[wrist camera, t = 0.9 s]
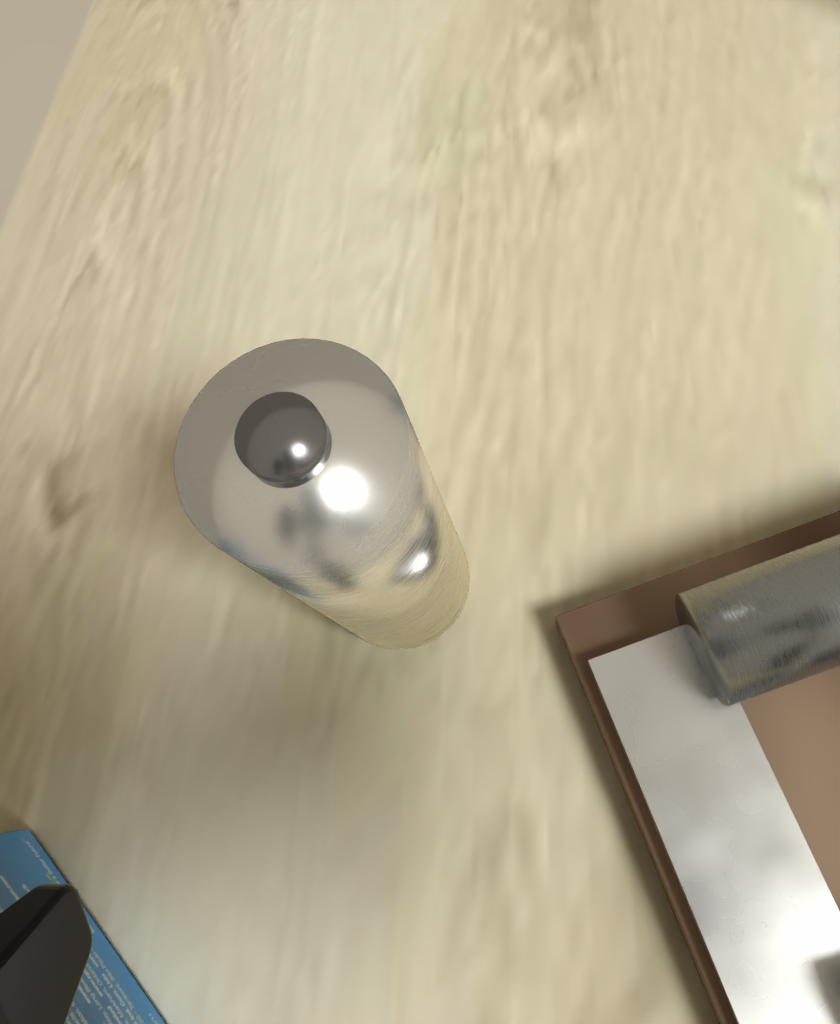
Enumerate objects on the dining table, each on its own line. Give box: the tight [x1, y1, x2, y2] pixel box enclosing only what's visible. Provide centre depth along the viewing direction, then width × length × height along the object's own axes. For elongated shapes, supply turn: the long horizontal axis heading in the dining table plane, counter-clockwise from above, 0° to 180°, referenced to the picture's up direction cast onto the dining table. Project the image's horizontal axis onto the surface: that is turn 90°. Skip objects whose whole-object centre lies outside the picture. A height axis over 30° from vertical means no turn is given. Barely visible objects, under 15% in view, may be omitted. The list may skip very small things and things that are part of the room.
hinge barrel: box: [174, 339, 470, 649], centre depth 19 cm, size 4×4×12 cm
